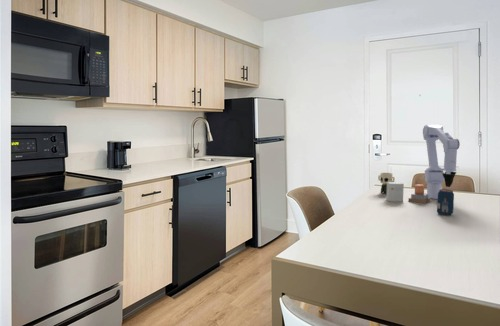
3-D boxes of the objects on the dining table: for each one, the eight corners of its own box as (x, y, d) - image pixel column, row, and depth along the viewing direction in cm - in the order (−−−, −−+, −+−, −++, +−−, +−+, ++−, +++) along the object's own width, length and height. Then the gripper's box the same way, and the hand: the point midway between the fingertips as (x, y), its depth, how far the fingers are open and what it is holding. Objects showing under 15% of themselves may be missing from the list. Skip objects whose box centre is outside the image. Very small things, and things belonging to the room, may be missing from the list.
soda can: (447, 212, 178) (448, 189, 177) (455, 216, 171) (457, 191, 170) (433, 212, 178) (435, 189, 176) (441, 216, 171) (443, 191, 170)
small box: (400, 199, 209) (400, 182, 207) (403, 201, 203) (404, 183, 202) (386, 199, 209) (386, 181, 208) (388, 201, 204) (389, 183, 203)
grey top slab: (415, 196, 209) (415, 192, 208) (428, 198, 204) (428, 193, 204) (411, 198, 203) (411, 194, 203) (424, 200, 199) (424, 195, 198)
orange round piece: (418, 192, 207) (418, 184, 206) (425, 194, 203) (426, 185, 202) (412, 193, 204) (413, 185, 204) (420, 195, 200) (420, 186, 200)
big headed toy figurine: (374, 193, 229) (375, 173, 228) (380, 191, 234) (381, 172, 232) (390, 195, 221) (391, 174, 219) (396, 194, 225) (397, 173, 224)
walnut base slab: (414, 200, 210) (414, 196, 210) (430, 202, 204) (430, 198, 204) (408, 202, 204) (408, 198, 204) (424, 205, 198) (425, 200, 197)
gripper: (443, 159, 202) (442, 183, 203) (440, 161, 190) (438, 186, 191) (457, 160, 198) (456, 184, 199) (455, 162, 186) (453, 188, 187)
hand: (448, 185), depth 195 cm, fingers open, 7 cm apart
